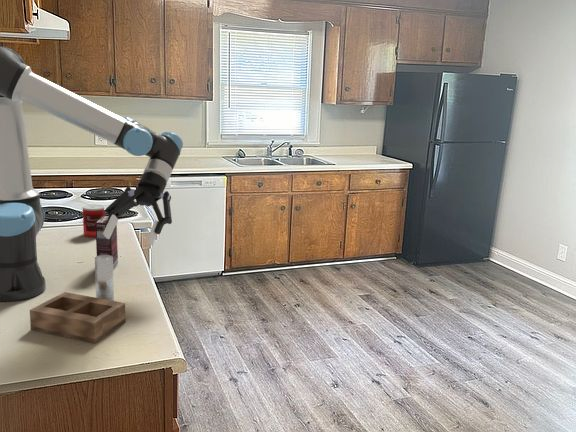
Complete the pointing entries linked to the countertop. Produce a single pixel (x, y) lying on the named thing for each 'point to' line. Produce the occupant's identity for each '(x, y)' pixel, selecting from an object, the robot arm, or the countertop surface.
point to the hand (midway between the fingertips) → (127, 239)
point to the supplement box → (106, 241)
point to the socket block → (78, 317)
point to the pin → (104, 277)
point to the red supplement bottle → (91, 218)
